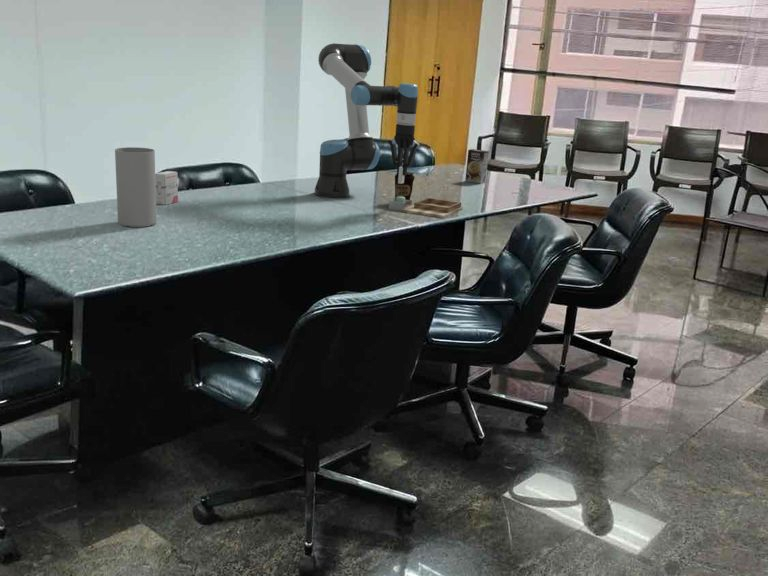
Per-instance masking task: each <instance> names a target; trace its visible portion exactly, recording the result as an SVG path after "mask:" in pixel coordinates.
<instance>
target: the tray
mask: <svg viewBox="0 0 768 576" xmlns="http://www.w3.org/2000/svg"><path fill="white" fill-rule="evenodd" d="M462 210H463V206H462V202H460V201H456V200H455V201H453V200H446V199H442V198H433V197H425V198H424V199H421V200H419V201H415V202H414V203H413V204H411V207H408V208H406V209H402V211H401V213H406V212H407V213H408V214H413V213H415V214H414V215H419V214H421V215H420V216H426V215H427V217H433V218H439V219H440V218H441V219H445V218H448V217H449V216H451V214H452V215H453V214H455V213H458V212H461V211H462Z"/></svg>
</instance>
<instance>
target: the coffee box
mask: <svg viewBox="0 0 768 576" xmlns="http://www.w3.org/2000/svg"><path fill="white" fill-rule="evenodd" d="M489 156H490V151H488V150H482V149H476V148H475V149H474V148H472V149H468V151H467V159H466V160H467V161H466V171H465V179H464V182H467V183H473V182H474V183H473V184H479V183H480V185H482V184H486V183H487V181H486V180H487V174H488V173H487V171H488V163H489ZM485 182H486V183H485ZM481 183H482V184H481Z"/></svg>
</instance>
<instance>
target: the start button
mask: <svg viewBox="0 0 768 576" xmlns="http://www.w3.org/2000/svg"><path fill="white" fill-rule="evenodd" d="M396 201H400V202H405V197H401V196H398V197H396Z"/></svg>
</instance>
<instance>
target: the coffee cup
mask: <svg viewBox="0 0 768 576" xmlns="http://www.w3.org/2000/svg"><path fill="white" fill-rule="evenodd" d="M398 176H399V175H397V173H396V174H395V175H394V197H395V198H396V197H398V196H401V197H405V199H406V200H411V197H412V193H413V188H414V187H413V186H414V182H415V178H416V176H415V175H414V172H409V171H407V174H406V175H405V176H404V183H402V184H399V183H398ZM395 198H394V199H395Z"/></svg>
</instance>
